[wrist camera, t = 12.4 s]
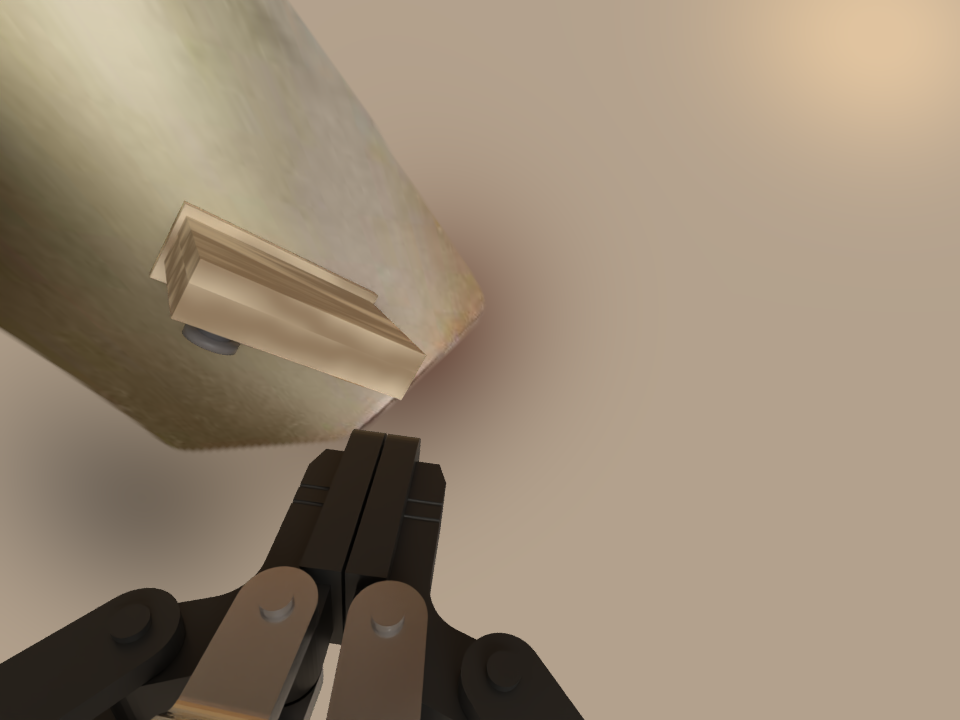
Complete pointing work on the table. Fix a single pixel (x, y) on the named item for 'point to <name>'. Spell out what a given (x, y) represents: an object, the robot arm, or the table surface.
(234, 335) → the birch console
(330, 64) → the table surface
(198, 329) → the grey button
